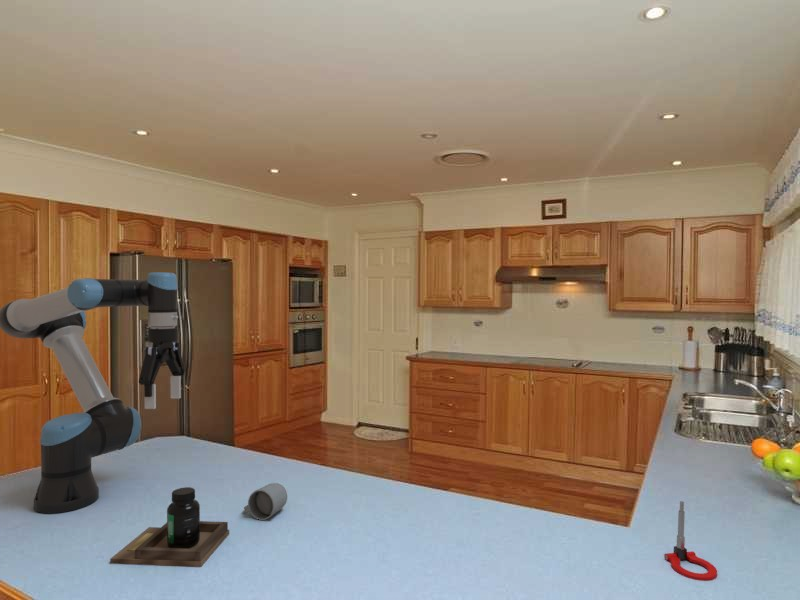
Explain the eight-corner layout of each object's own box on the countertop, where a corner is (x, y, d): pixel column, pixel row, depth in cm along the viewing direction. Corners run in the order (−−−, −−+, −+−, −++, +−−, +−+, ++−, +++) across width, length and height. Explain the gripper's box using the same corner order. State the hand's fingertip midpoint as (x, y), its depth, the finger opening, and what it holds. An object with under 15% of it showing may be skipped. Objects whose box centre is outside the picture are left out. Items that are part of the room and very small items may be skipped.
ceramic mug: (289, 509, 140) (289, 480, 139) (273, 522, 132) (273, 491, 132) (254, 505, 143) (254, 477, 142) (237, 517, 135) (236, 488, 135)
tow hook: (726, 581, 106) (695, 556, 115) (729, 519, 105) (697, 499, 114) (688, 584, 105) (659, 559, 114) (690, 522, 104) (661, 501, 113)
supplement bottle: (168, 553, 114) (167, 499, 114) (166, 540, 120) (165, 488, 120) (201, 546, 117) (201, 493, 117) (198, 534, 123) (197, 483, 123)
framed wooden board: (110, 563, 112) (110, 549, 112) (149, 531, 127) (148, 518, 127) (201, 566, 110) (201, 552, 110) (229, 534, 125) (229, 521, 125)
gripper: (151, 331, 134) (152, 413, 134) (196, 324, 159) (196, 394, 159) (123, 330, 134) (124, 413, 135) (172, 324, 159) (173, 394, 159)
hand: (163, 403), depth 147 cm, fingers open, 13 cm apart
